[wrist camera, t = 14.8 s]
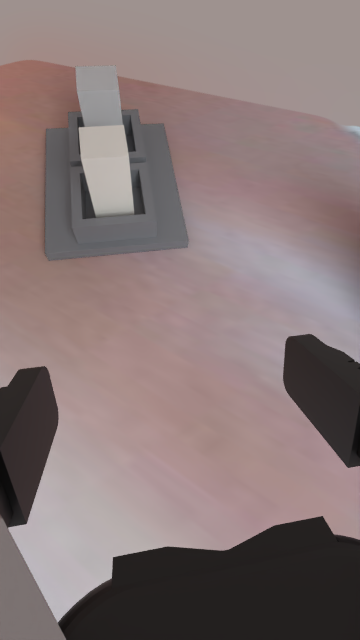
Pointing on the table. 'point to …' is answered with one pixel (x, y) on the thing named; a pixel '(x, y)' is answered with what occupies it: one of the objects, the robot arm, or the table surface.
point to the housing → (146, 178)
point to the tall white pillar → (107, 169)
